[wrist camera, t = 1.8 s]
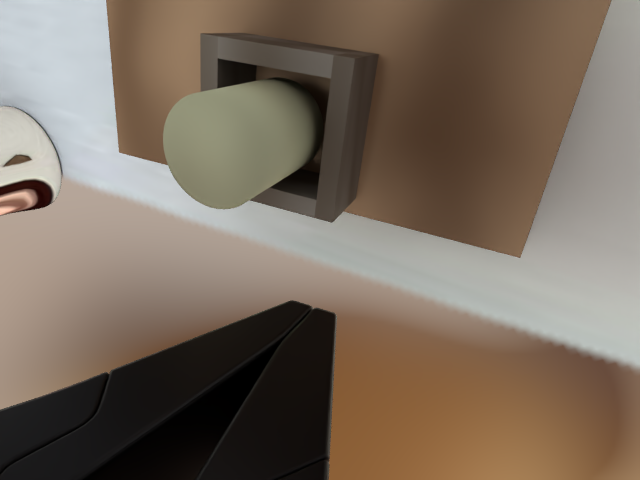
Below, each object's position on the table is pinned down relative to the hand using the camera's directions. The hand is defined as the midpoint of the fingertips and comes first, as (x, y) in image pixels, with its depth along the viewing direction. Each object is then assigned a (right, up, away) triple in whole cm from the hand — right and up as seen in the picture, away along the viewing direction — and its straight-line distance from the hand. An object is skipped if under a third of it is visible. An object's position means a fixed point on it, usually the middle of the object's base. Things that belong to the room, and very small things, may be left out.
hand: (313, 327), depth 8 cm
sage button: (-1, +6, +9) cm, 11 cm away
